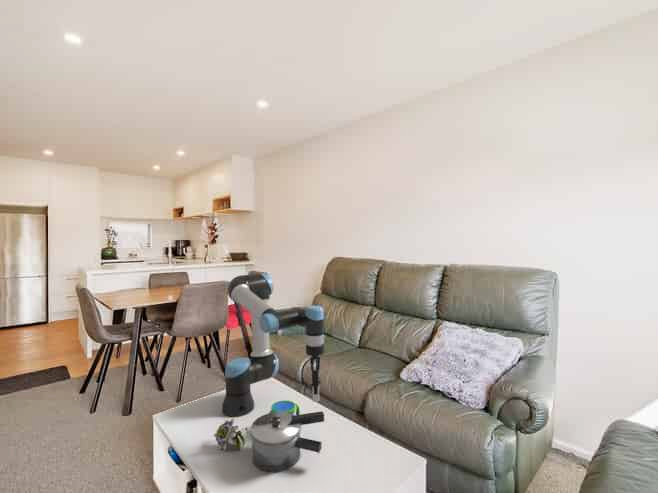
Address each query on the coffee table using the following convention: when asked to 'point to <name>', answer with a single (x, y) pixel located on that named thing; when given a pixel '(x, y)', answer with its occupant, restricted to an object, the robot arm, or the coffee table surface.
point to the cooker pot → (281, 453)
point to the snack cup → (285, 407)
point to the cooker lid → (281, 426)
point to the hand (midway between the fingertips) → (316, 400)
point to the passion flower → (229, 435)
